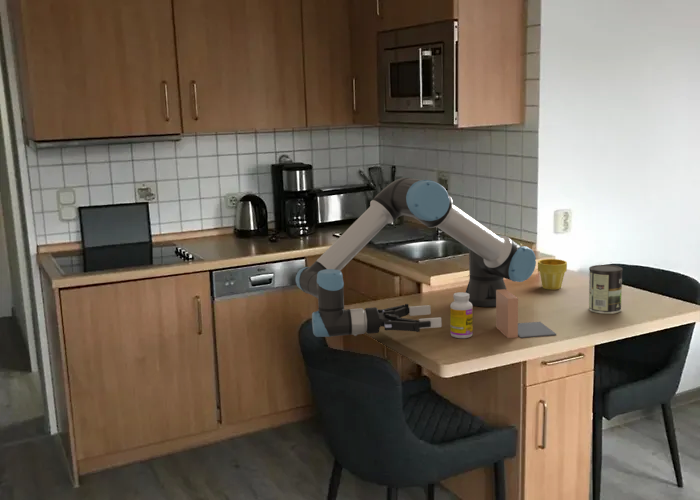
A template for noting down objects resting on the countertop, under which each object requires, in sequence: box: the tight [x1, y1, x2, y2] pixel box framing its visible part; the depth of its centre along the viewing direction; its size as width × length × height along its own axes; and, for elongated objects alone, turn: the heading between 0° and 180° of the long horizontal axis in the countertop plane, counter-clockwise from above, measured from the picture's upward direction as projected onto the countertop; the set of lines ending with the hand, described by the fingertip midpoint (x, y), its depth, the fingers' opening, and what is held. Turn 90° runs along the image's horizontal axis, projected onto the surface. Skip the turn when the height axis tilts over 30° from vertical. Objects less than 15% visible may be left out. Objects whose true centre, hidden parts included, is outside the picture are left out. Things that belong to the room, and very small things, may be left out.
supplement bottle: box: [449, 291, 474, 339], centre depth 226 cm, size 7×7×13 cm
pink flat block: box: [495, 288, 519, 339], centre depth 228 cm, size 3×11×12 cm, turn 7°
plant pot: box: [537, 258, 568, 291], centre depth 279 cm, size 10×10×10 cm
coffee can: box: [588, 264, 624, 315], centre depth 247 cm, size 10×10×14 cm
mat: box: [518, 321, 557, 339], centre depth 230 cm, size 11×13×1 cm
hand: (435, 315), depth 225 cm, fingers open, 13 cm apart
